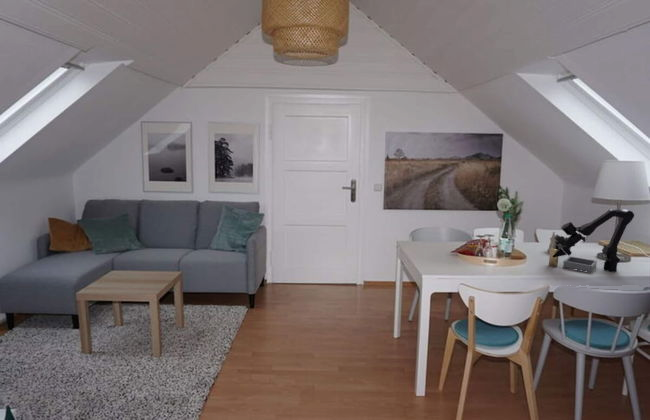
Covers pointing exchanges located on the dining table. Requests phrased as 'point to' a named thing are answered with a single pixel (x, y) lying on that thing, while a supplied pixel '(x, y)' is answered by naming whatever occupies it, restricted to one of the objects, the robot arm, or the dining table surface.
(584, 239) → the robot arm
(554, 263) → the brass canister
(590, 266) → the charcoal bin
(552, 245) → the ceramic cottage
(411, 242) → the dining table surface
